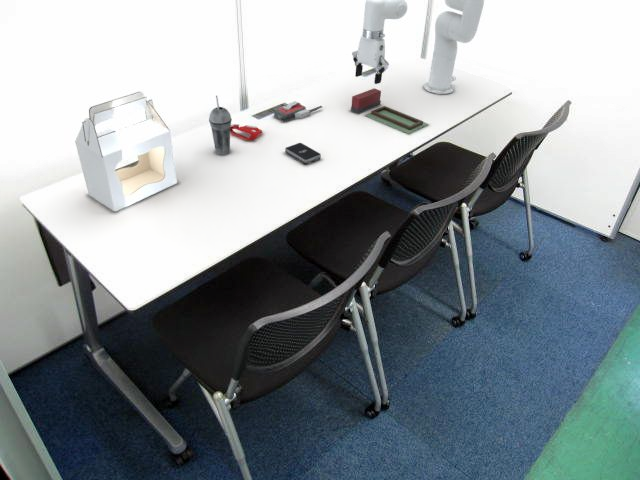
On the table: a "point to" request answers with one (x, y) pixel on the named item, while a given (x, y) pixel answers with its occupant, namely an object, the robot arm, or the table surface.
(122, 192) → the gable box
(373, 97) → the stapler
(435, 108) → the table surface
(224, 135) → the beverage cup
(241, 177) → the table surface
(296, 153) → the external hard drive
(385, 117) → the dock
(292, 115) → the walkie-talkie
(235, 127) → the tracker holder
